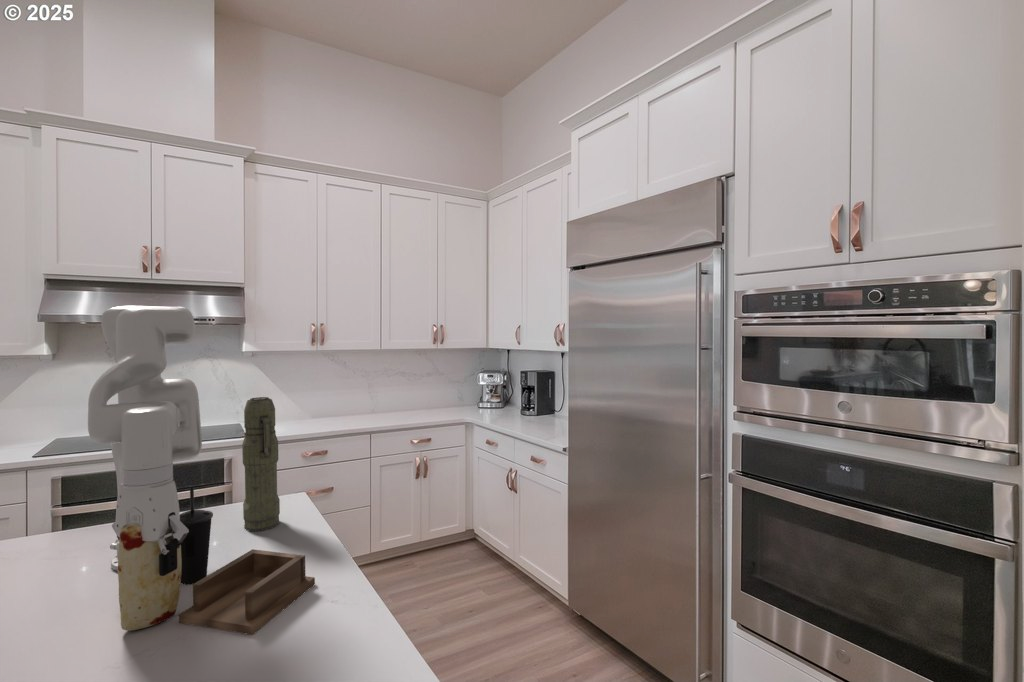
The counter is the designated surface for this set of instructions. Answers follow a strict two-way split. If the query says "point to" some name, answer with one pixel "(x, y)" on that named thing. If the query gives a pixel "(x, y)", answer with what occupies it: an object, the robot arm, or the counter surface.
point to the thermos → (260, 465)
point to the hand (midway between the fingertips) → (150, 569)
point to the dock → (248, 591)
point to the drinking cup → (195, 543)
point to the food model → (145, 581)
